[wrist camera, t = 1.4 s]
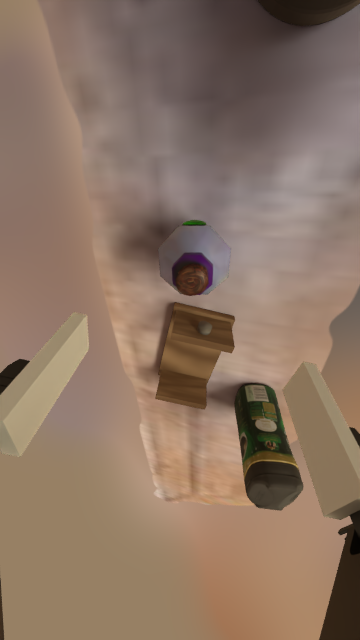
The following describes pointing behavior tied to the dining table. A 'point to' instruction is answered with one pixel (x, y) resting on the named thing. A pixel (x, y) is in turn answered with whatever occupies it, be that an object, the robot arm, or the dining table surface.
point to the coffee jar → (265, 449)
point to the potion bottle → (194, 259)
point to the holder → (192, 353)
